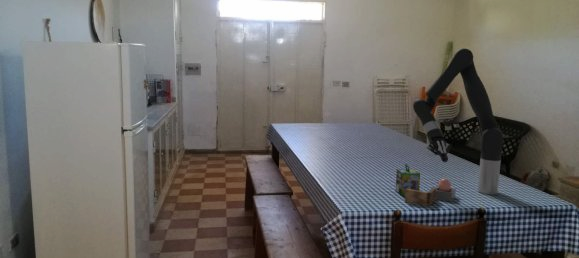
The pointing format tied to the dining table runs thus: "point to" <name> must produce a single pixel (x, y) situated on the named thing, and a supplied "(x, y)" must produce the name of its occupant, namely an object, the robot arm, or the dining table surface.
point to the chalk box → (407, 180)
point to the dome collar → (445, 194)
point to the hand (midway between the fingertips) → (445, 161)
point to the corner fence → (420, 197)
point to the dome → (444, 185)
